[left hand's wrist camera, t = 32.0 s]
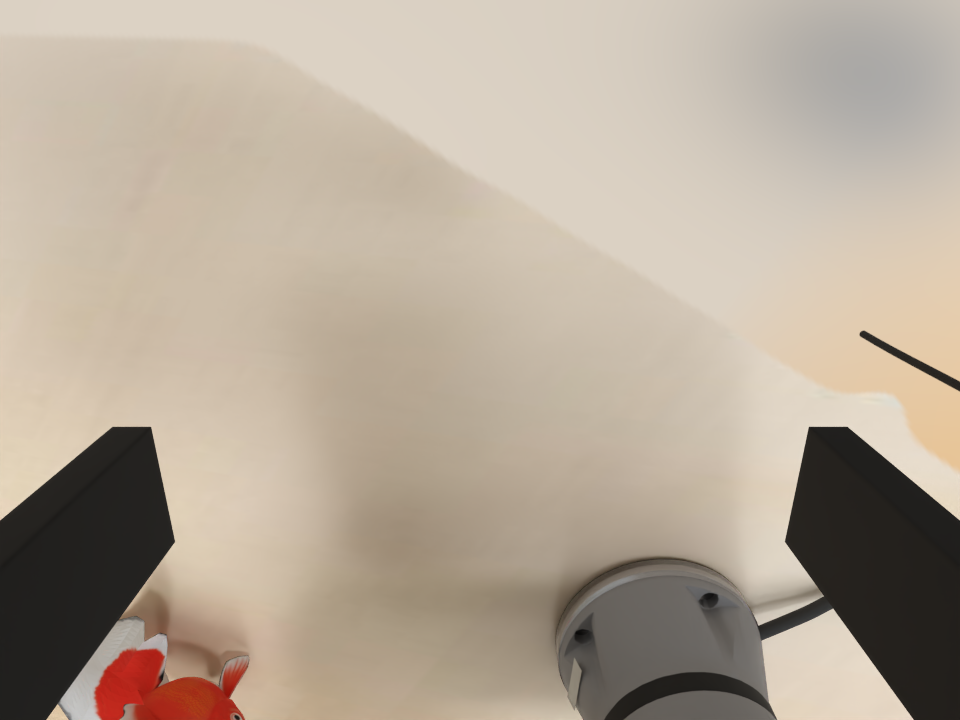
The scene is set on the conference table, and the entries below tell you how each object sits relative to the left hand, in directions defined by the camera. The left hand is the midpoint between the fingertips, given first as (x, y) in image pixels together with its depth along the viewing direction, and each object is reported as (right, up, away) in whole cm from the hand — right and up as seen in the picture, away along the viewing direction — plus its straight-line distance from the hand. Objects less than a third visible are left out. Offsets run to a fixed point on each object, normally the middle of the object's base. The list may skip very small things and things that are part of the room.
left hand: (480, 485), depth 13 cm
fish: (-24, -20, +37) cm, 49 cm away
